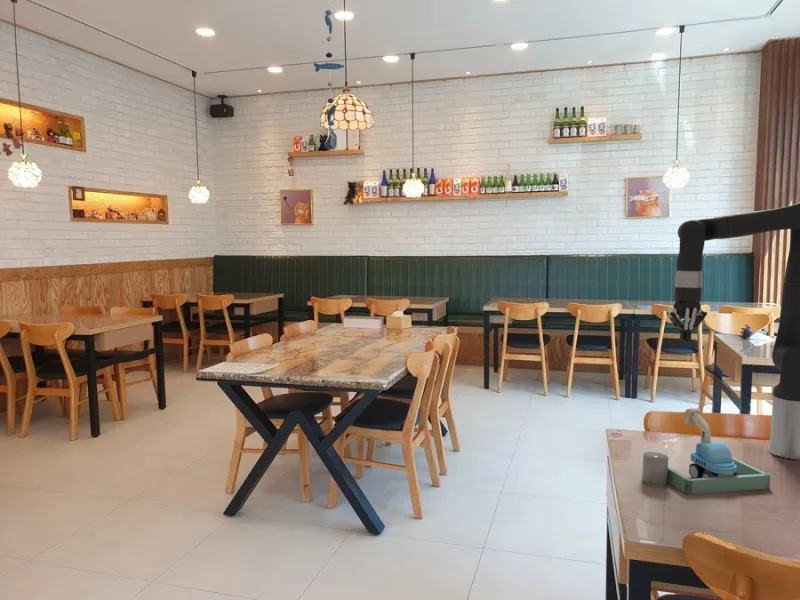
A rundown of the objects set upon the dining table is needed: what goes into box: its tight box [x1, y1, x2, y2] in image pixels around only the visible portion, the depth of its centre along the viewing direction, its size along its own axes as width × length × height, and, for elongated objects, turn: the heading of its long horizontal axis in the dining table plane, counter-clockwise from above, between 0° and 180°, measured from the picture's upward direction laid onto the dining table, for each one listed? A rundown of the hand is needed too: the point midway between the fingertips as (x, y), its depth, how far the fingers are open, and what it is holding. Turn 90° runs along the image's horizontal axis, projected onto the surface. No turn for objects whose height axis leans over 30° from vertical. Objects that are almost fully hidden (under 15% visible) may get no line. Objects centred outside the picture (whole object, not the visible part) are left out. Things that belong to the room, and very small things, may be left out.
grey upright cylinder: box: [641, 451, 669, 488], centre depth 153 cm, size 6×6×7 cm
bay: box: [667, 456, 771, 496], centre depth 154 cm, size 23×13×4 cm, turn 101°
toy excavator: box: [683, 407, 740, 479], centre depth 156 cm, size 9×17×17 cm, turn 8°
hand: (685, 341), depth 182 cm, fingers closed
